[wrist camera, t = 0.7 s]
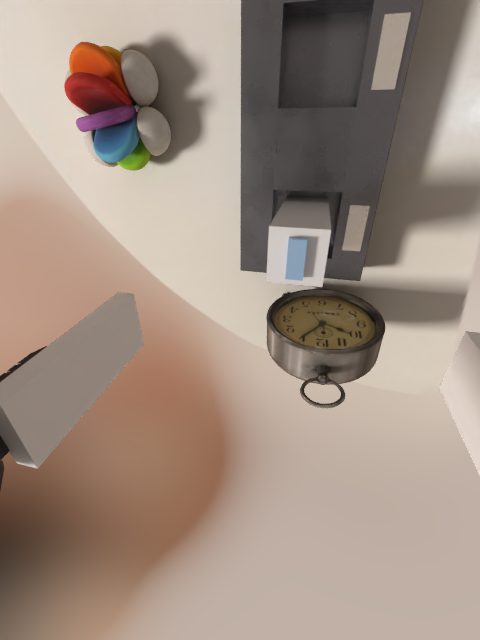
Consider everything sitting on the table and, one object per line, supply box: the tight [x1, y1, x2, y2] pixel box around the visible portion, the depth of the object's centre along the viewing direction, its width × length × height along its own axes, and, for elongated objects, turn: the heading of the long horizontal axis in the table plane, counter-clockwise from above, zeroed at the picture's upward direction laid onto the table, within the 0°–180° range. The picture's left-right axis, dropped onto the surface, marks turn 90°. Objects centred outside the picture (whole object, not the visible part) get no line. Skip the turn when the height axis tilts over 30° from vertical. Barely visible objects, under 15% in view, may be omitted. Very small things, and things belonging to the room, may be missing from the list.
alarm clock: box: [267, 289, 385, 408], centre depth 29 cm, size 11×5×16 cm, turn 92°
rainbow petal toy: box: [65, 42, 171, 170], centre depth 27 cm, size 8×10×7 cm
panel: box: [241, 0, 423, 281], centre depth 26 cm, size 22×12×4 cm, turn 0°
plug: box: [266, 197, 331, 287], centre depth 25 cm, size 4×4×13 cm
